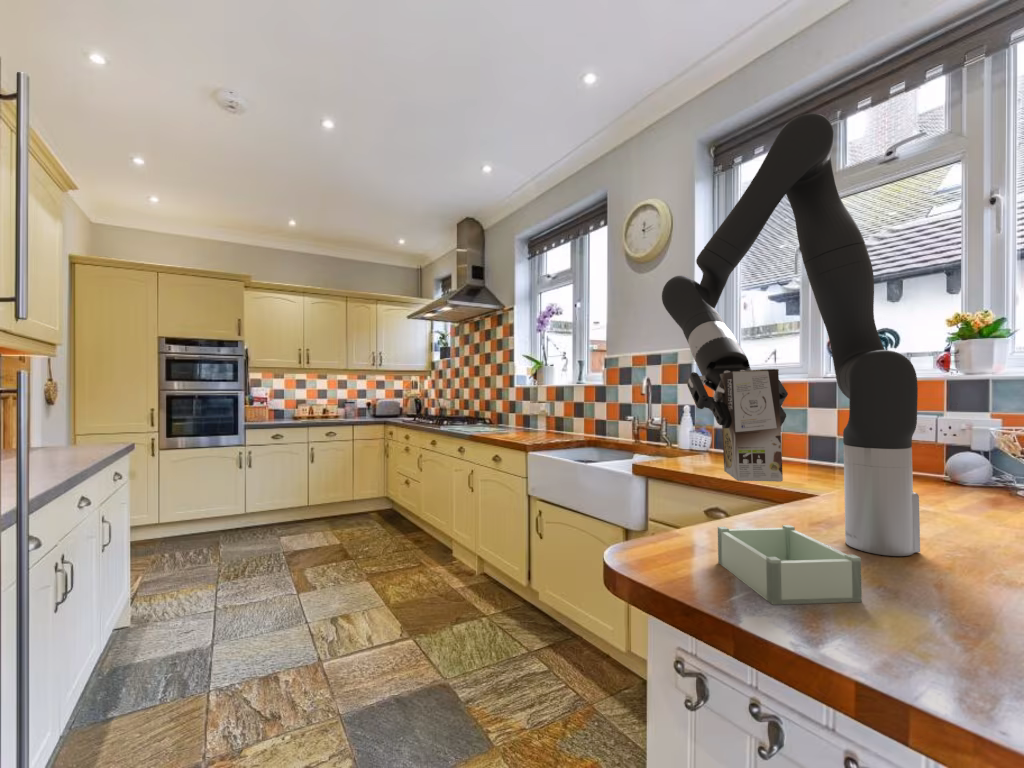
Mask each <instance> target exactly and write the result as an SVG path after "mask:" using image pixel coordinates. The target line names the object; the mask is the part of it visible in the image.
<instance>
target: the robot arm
mask: <svg viewBox="0 0 1024 768" xmlns="http://www.w3.org/2000/svg"><path fill="white" fill-rule="evenodd" d="M834 143H835V130H834V126H833V125H832V122H831V121H830V120H829V118H827V117H826V116H824V115H822V114H819V113H812V112H810V113H804V114H801V115H798V116H796V117H794V118H792V119H791V120H789V121H788V122H787V123H785V125H784V126H782V128H781V129H780V130H779V132H778V133H777V135H776V137H775V139H774V141H773V142H772V145H771V147H770V148H769V150H768V152H767V154H766V156H765V158H764V159H763V162H762V163H761V165H760V167H759V168H758V170H757V172H756V174H755V175H754V177H753V178H752V180H751V181H750V183H749V185H748V187H747V188H746V190H745V191H744V192H743V194H742V195H741V197H740V199H739V200H738V201H737V203H736V204H735V205H734V207H733V208H732V209H731V210H730V212H729V214H728V215H727V216H726V217H725V219H724V220H723V222H722V223H721V224H720V226H719V227H717V230H716V231H714V233H713V235H712V236H711V237H710V239H709V240H708V241H707V243H706V244H705V246H704V247H703V249H702V250H701V251H700V252H699V254H698V256H697V257H696V260H695V262H696V265H697V267H698V268H699V270H700V271H701V273H702V277H701V280H700V283H699V282H697V281H696V280H694V279H693V278H691V277H689V276H687V275H676V276H674V277H671V278H670V279H669V280H668V281H667V282H665V285H664V286H663V288H662V292H661V301H662V305H663V307H664V309H665V310H666V311H667V313H668V315H669V316H670V317H671V318H672V319H673V321H674V322H675V324H677V325H678V326H679V328H680V329H681V330H682V333H683V335H684V337H685V339H686V341H687V343H688V345H689V349H690V352H691V353H690V354H691V356H692V358H693V360H694V362H695V364H696V366H697V368H698V370H699V372H700V374H701V375H700V374H699V373H698V372H695V371H693V372H691V373H690V376H689V378H688V380H687V381H688V382H687V384H686V385H687V387H688V390H689V393H690V394H691V396H692V399H693V401H694V404H695V405H696V408H697V409H698V410H703V409H708V410H709V411H710V412H712V415H713V417H714V419H715V421H716V423H717V424H718V425H719V426H721V428H722V427H723V428H729V427H730V425H731V422H732V419H731V416H730V413H729V411H728V409H727V407H726V405H725V403H724V402H721V399H722V397H723V394H724V386H723V382H722V378H720V374H722V373H728V372H733V371H748V370H753V369H752V368H751V367H750V363H749V359H748V357H747V355H746V354H745V351H743V348H742V347H741V345H740V343H739V341H737V338H736V337H735V335H734V334H733V332H732V331H731V330H730V329H729V328H728V326H727V324H726V323H725V322H724V319H723V318H722V317H721V314H720V313H719V312H718V311H717V310H716V309H715V308H716V306H717V305H718V302H719V300H720V298H721V296H722V293H723V291H724V289H725V287H726V284H727V283H728V280H729V278H730V275H731V274H732V273H733V271H734V270H735V269H736V267H737V266H738V265H739V263H740V262H741V261H742V260H743V258H744V257H745V256H746V255H747V253H748V252H749V250H750V249H751V247H753V245H754V243H755V242H756V241H757V239H758V237H759V235H761V232H762V231H763V229H764V227H765V226H766V224H767V223H768V221H769V220H770V217H771V216H772V214H773V213H774V211H775V210H776V208H777V207H778V205H779V204H780V203H781V201H782V200H783V199H784V197H785V196H786V198H787V200H788V202H789V205H790V208H791V210H792V214H793V218H794V222H795V228H796V234H797V240H798V244H799V245H798V246H799V249H800V253H801V258H802V261H803V264H804V269H805V273H806V276H807V278H808V282H809V284H810V287H811V290H812V292H813V293H812V294H813V296H814V298H815V299H814V300H815V302H816V304H817V308H818V311H819V314H820V317H821V320H822V321H823V324H824V326H825V329H826V332H827V336H828V340H829V345H830V346H829V347H830V350H831V355H832V362H833V368H834V374H835V379H836V383H837V386H838V388H839V390H840V392H841V393H842V394H843V396H845V397H846V398H847V399H849V401H848V402H849V414H848V421H847V424H846V426H845V427H844V428H843V431H842V439H843V440H842V441H843V442H842V443H843V480H844V481H843V482H844V483H843V487H844V488H843V489H844V531H845V532H844V536H845V537H844V539H845V540H844V541H845V544H846V545H847V546H849V547H851V548H853V549H856V550H858V551H862V552H865V553H870V554H875V555H882V556H891V557H907V556H908V557H909V556H912V555H914V554H915V553H921V529H920V528H921V527H920V526H921V522H920V519H921V518H920V495H919V494H918V493H917V492H914V482H913V481H914V480H913V477H914V475H913V442H912V440H913V436H914V434H915V431H916V429H917V426H918V425H917V423H918V400H919V399H918V394H919V393H918V389H919V388H918V377H917V372H916V369H915V366H914V365H913V363H912V362H911V361H910V360H909V358H907V357H906V356H905V355H903V354H902V353H899V352H897V351H894V350H888V349H885V348H884V344H883V342H882V340H881V337H880V335H879V332H878V329H877V325H876V320H875V314H874V309H875V308H874V304H875V299H874V298H875V279H874V277H875V276H874V268H873V265H872V264H873V263H872V261H871V257H870V254H869V251H868V247H867V245H866V242H865V239H864V236H863V234H862V232H861V230H860V228H859V226H858V225H857V223H856V221H855V219H854V218H853V216H852V214H851V213H850V212H849V211H848V209H847V207H846V206H845V204H844V203H843V201H842V199H841V197H840V194H839V191H838V187H837V184H836V179H835V174H834V169H833V164H832V163H833V162H832V150H833V146H834ZM705 386H706V387H707V388H709V389H710V390H712V391H713V392H714V395H713V396H709V395H708V391H707V390H706V387H705ZM788 395H789V394H788V392H787V390H786V387H784V385H783V383H782V382H781V381H780V379H779V398H780V425H781V427H782V425H783V424H784V422H785V420H786V419H787V413H786V412H785V410H784V408H783V407H782V406H783V404H784V402H785V400H786V398H787V397H788Z"/></svg>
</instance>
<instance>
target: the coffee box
mask: <svg viewBox="0 0 1024 768" xmlns="http://www.w3.org/2000/svg"><path fill="white" fill-rule="evenodd" d="M779 374H780V373H779V369H778V368H768V369H767V368H765V369H752V370H748V371H733V372H728V373H722V374H720V378H722V382H723V386H724V394H723V397H722V399H721V402H724V403H725V405H726V407H727V409H728V411H729V413H730V416H731V419H732V422H731V425H730V427H729V428H723V427H722V426H721V431H722V432H721V433H722V451H723V453H722V455H723V470H724V472H725V473H726V474H728V475H729V476H730V477H732V478H733V479H734V480H736V481H738V482H783V480H784V478H783V477H784V476H783V455H782V452H783V451H782V433H781V427H782V426H781V425H780V398H779V380H780V378H779Z"/></svg>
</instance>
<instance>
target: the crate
mask: <svg viewBox="0 0 1024 768" xmlns="http://www.w3.org/2000/svg"><path fill="white" fill-rule="evenodd" d="M795 529H796V528H795V526H793V525H791V524H785V525H784V524H783V525H782V526H781V527H768V528H767V527H766V528H765V527H763V528H762V527H761V528H728V527H726V526H717V559H718V560H717V562H718V564H719V565H721V566H722V567H723V568H724V569H726V570H727V571H729V573H731V574H732V575H734V576H735V577H736V578H737V579H739V580H740V581H741V582H743V583H744V584H745V585H746V586H747V587H749V588H750V589H751V590H753V591H754V592H756V593H757V594H758V595H759V596H761V597H762V598H763V599H764V600H766V601H767V602H768V603H769V604H771V605H773V606H774V605H775V606H776V605H801V604H802V605H804V604H806V605H808V604H810V605H811V604H835V603H836V604H837V603H839V604H840V603H862V600H863V598H862V597H863V595H862V594H863V593H862V557H860V556H858V555H856V554H847V553H845V552H843V551H841V550H838V549H836V548H835V547H833V546H830V545H827V544H826V543H825V542H824V543H823V542H822V541H820V540H817V539H815V538H813V537H811V536H809V535H807V534H804V533H803V532H800V531H798V530H795Z"/></svg>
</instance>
